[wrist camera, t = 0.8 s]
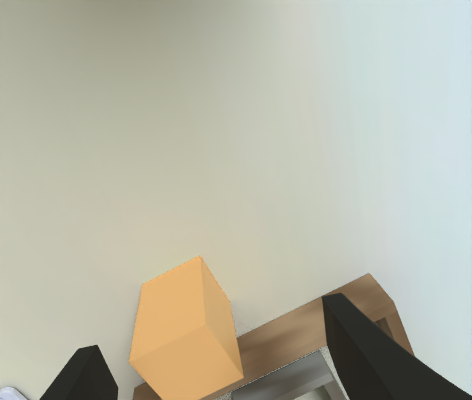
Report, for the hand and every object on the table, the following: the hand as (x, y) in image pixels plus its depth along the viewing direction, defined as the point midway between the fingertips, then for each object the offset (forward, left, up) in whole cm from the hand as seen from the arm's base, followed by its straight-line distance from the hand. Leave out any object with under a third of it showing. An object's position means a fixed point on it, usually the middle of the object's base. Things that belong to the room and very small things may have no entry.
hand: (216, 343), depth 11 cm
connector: (-3, -4, -10) cm, 12 cm away
